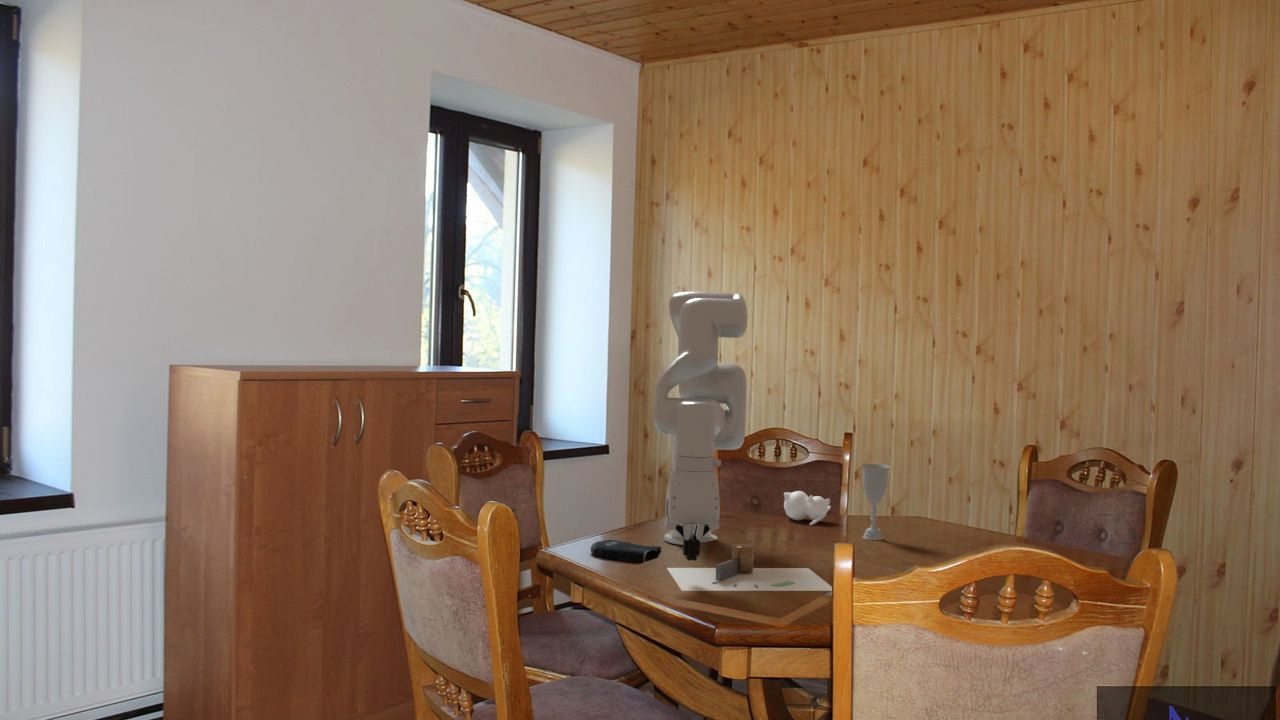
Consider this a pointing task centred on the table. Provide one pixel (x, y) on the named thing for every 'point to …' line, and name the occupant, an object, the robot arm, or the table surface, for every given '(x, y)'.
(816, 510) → the cat figurine
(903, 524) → the table surface
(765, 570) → the dial board
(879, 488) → the chalice
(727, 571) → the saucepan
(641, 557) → the electronic device
